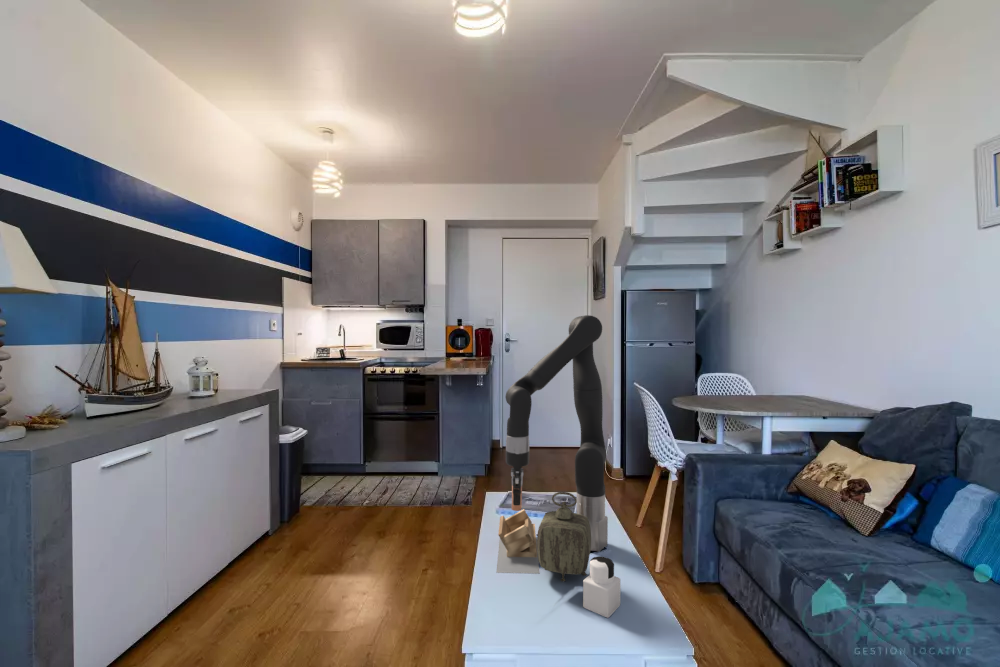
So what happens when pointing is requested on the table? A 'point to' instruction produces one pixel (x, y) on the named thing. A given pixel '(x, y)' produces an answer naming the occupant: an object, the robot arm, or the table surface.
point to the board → (516, 562)
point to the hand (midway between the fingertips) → (516, 502)
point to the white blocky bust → (601, 587)
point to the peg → (519, 507)
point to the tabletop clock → (564, 540)
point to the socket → (518, 535)
